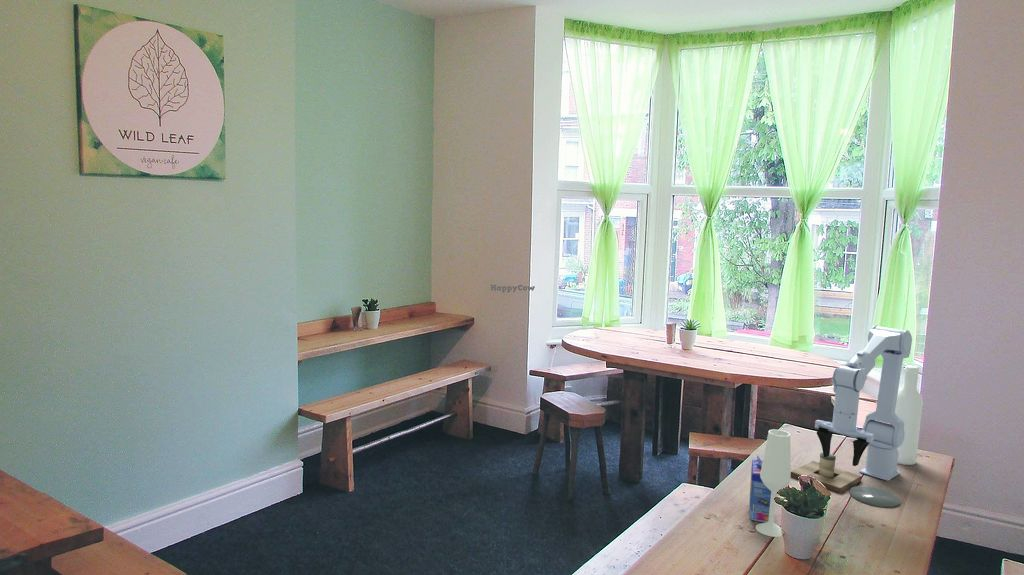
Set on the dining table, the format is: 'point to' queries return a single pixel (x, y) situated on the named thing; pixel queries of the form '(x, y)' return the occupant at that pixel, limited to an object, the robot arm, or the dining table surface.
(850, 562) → the dining table surface
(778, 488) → the champagne flute
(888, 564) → the dining table surface
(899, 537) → the dining table surface
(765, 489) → the ink cartridge box
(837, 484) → the socket block
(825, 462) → the small jar
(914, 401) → the bottle
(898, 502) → the disc
